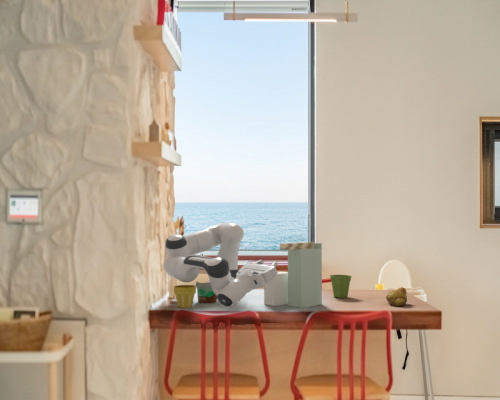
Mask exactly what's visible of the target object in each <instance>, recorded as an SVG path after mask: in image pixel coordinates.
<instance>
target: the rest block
mask: <svg viewBox="0 0 500 400" xmlns="http://www.w3.org/2000/svg"><path fill="white" fill-rule="evenodd" d="M263 288H264V289H263V291H264V292H263V295H264V296H263V304H264V305H265V306H266V305H267V306H271V307H277V306H278V307H279V306H283V305H288V271H277V275H276V276H275V277H274V278H273V279H272V280H271V281H269V282H268V283H266V286H265V287H263Z"/></svg>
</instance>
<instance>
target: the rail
mask: <svg viewBox="0 0 500 400" xmlns="http://www.w3.org/2000/svg"><path fill="white" fill-rule="evenodd" d="M314 243H315V241H304V242H303V241H302V242H284V243H283V242H282V243H281V242H280V243H279V250H280V251H288V250H296V249H313V248H314Z"/></svg>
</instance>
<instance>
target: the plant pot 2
mask: <svg viewBox="0 0 500 400" xmlns="http://www.w3.org/2000/svg"><path fill="white" fill-rule="evenodd" d="M329 277H330V281H331V287H332V295H333V297H334V298H337V299H341V298H342V299H344V298H348V297H349V289H350V283H351V281H352V280H351V279H352V277H353V276H352V275H349V274H330V275H329Z"/></svg>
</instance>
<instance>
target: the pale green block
mask: <svg viewBox="0 0 500 400" xmlns="http://www.w3.org/2000/svg"><path fill="white" fill-rule="evenodd" d="M322 245H323V243H321V242H319V243H318V242H314V248H313V249H296V250H287V272H288V304H287V306H289V307H295V308H300V309H303V308H311V307H315V306H322V305H323V302H322V301H323V296H322V295H323V285H322V283H323V281H322V280H323V279H322V278H323V274H322V272H323V269H322V264H323V263H322V259H323V257H322V256H323V255H322V254H323V253H322V252H323V251H322V249H323V248H322Z"/></svg>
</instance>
